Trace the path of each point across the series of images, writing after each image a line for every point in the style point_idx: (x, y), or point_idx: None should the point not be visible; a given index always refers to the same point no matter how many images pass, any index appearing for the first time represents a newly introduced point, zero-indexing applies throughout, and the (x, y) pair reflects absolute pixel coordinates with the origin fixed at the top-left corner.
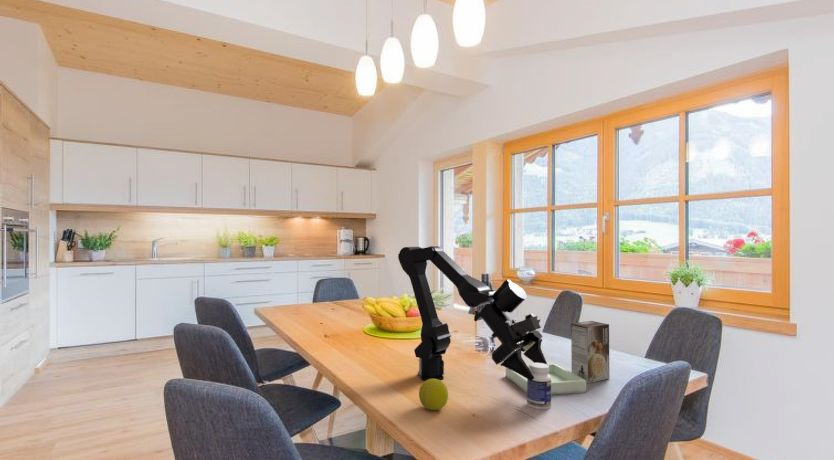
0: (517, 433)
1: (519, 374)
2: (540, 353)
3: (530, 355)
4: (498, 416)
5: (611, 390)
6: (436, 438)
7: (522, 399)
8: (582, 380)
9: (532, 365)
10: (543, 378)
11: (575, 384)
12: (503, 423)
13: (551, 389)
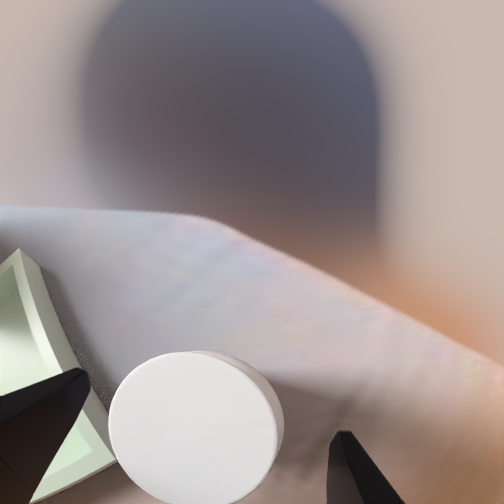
0: (465, 391)
1: None
2: (4, 422)
3: (18, 489)
4: None
5: (26, 209)
6: None
7: None
8: (17, 258)
9: (236, 485)
10: (267, 386)
11: (33, 284)
12: (432, 453)
13: None
